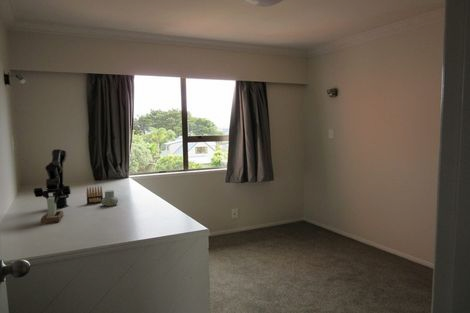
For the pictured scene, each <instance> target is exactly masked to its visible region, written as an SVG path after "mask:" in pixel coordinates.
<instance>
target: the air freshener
mask: <svg viewBox="0 0 470 313" xmlns="http://www.w3.org/2000/svg"><path fill="white" fill-rule="evenodd" d="M118 203H119V199H118V197H116V196H115V191H114V190H111V189H109V190H105V191H104V196H103V199H102V200H101V203H100V204H101V205H103V206H105V207H112V206H115V205H117V204H118Z"/></svg>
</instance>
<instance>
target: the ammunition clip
mask: <svg viewBox="0 0 470 313" xmlns="http://www.w3.org/2000/svg"><path fill="white" fill-rule="evenodd" d="M103 198H104V194H103V187H102V186H100V187H99V186H98V185H97V186H95V187H94V186H92V187H91V186H89V187H88V186H87V187H86V205H93V204H95V203H96V204H102V203H101V200H102V199H103Z"/></svg>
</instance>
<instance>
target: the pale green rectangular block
mask: <svg viewBox="0 0 470 313" xmlns="http://www.w3.org/2000/svg"><path fill="white" fill-rule="evenodd" d="M54 200H55V196H53V195H49V197H48V199H46V204H47V206H46V207H47V212H48V216H54V215H55V214H56V212H57V211H58V210H57V208H56V203H54Z"/></svg>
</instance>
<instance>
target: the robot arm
mask: <svg viewBox="0 0 470 313" xmlns="http://www.w3.org/2000/svg"><path fill="white" fill-rule="evenodd" d="M67 156H68V154H67V151H66V150H65V149H64V150H63V149H61V148H60V149H59V148H58V149H52V151H51V158H52V160H51V162H49V163H48V164H47V165H45V172H46V175H47V177H48V178H46V180H45V185H46V186H45V188H42V187H35V188H34V189H33V194H34V197H35V198H40V197H41V198H42V197H43V198H45V199H46V200H47V199H48V197H49V196H50V195H49V194H52V196H55V200H54V203H56V209H63V208H66V207H67V208H68V207H69V205H68V203H67V199H68V198H70V196H69V195H71V193H72V192H71V191H72V190H71V186H69V185H65V183H64V163H65V161H66V158H67Z"/></svg>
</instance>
